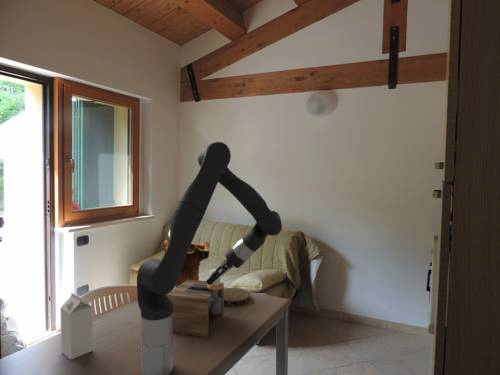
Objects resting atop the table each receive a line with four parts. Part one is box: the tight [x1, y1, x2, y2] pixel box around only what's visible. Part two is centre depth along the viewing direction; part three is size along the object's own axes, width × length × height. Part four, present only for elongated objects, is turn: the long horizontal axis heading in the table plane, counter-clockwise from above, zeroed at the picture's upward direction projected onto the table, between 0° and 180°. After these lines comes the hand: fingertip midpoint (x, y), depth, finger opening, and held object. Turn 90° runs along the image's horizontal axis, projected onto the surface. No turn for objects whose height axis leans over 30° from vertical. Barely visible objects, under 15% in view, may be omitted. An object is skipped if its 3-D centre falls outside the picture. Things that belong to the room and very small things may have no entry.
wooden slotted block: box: [166, 279, 225, 338], centre depth 133 cm, size 18×16×14 cm
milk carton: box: [60, 292, 94, 361], centre depth 111 cm, size 7×7×19 cm
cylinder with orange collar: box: [207, 268, 223, 314], centre depth 130 cm, size 6×6×16 cm
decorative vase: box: [163, 239, 211, 288], centre depth 161 cm, size 21×23×28 cm
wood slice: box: [224, 287, 251, 307], centre depth 158 cm, size 16×16×3 cm
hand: (210, 281), depth 131 cm, fingers closed on cylinder with orange collar, 4 cm apart
